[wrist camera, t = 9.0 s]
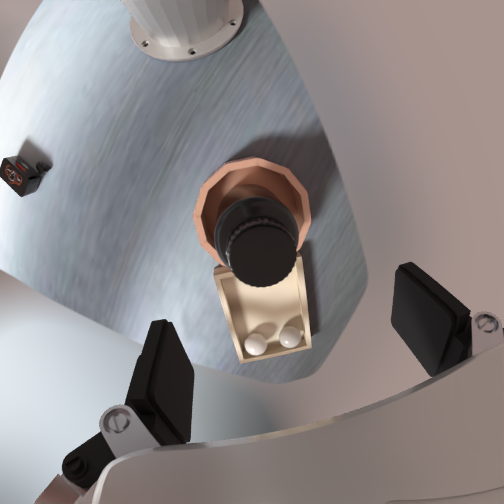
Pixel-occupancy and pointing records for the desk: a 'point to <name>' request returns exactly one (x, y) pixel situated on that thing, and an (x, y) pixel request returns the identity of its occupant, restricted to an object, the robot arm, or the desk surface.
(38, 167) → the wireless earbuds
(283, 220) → the supplement bottle
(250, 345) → the pebble
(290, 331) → the pebble
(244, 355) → the tray
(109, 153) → the desk surface
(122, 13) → the desk surface
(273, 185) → the bowl
